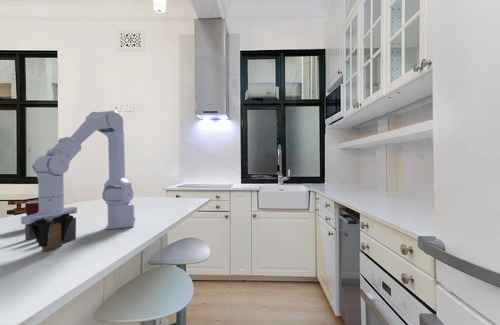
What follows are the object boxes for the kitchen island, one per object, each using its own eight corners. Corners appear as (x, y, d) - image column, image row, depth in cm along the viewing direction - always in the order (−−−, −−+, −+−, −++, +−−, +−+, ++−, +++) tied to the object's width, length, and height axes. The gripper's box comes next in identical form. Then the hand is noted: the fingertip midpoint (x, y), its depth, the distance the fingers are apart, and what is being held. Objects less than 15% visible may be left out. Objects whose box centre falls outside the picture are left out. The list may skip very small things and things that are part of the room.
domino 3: (75, 239, 81) (76, 217, 81) (62, 243, 77) (63, 220, 77) (71, 238, 81) (72, 217, 81) (58, 242, 77) (59, 220, 77)
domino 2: (61, 246, 74) (61, 223, 74) (46, 251, 70) (46, 226, 70) (57, 246, 74) (57, 222, 74) (42, 251, 70) (41, 226, 70)
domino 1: (43, 236, 84) (43, 215, 84) (29, 240, 80) (28, 218, 80) (39, 236, 84) (39, 215, 84) (25, 240, 80) (25, 218, 80)
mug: (61, 222, 103) (61, 198, 102) (59, 227, 96) (59, 201, 96) (28, 226, 97) (27, 201, 97) (23, 231, 90) (22, 204, 90)
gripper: (64, 192, 80) (64, 234, 80) (11, 200, 66) (12, 250, 66) (82, 193, 78) (82, 236, 78) (32, 200, 64) (33, 253, 64)
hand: (52, 243), depth 72 cm, fingers closed on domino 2, 4 cm apart
